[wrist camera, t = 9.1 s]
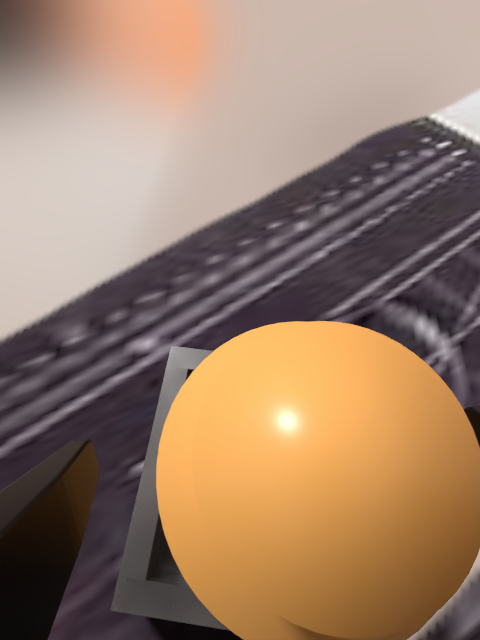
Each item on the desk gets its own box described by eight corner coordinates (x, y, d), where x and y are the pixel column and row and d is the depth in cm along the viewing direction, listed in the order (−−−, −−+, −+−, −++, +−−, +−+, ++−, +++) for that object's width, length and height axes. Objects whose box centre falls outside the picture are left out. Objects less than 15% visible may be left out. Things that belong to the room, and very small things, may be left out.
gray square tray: (374, 630, 14) (401, 659, 12) (131, 590, 14) (110, 610, 12) (367, 386, 18) (385, 372, 16) (179, 362, 19) (171, 345, 16)
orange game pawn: (358, 516, 15) (827, 647, 3) (227, 587, 14) (140, 1212, 2) (292, 388, 17) (406, 176, 5) (177, 440, 16) (1, 318, 4)
